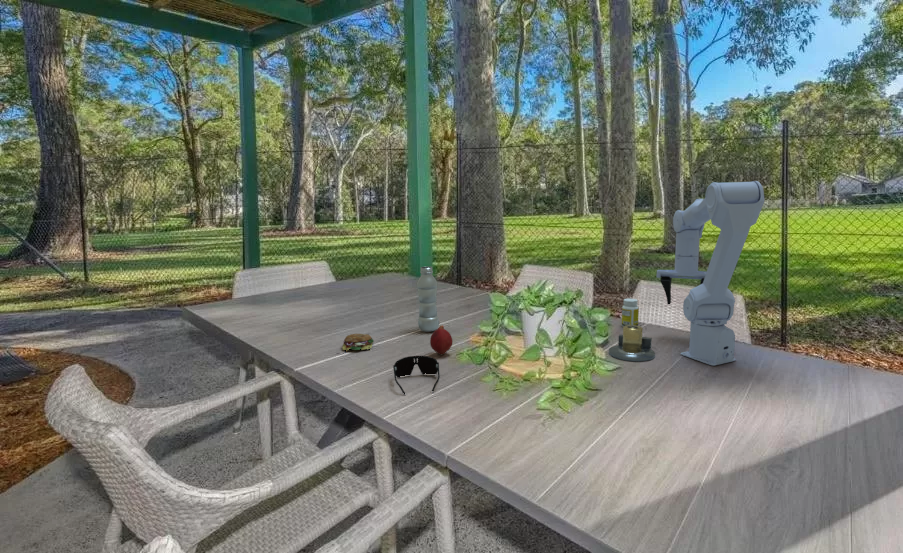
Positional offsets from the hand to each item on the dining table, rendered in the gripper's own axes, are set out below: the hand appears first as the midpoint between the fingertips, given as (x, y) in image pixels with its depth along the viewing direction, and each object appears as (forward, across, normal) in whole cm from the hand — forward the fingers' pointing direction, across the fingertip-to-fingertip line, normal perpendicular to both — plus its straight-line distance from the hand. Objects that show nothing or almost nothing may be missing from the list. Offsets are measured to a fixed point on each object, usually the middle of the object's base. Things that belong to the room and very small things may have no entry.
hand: (684, 304), depth 134 cm
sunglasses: (+10, +50, +58) cm, 77 cm away
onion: (+10, +55, +38) cm, 68 cm away
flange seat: (+10, +11, +18) cm, 23 cm away
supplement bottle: (+10, +15, -8) cm, 20 cm away
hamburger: (+11, +80, +44) cm, 92 cm away
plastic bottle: (+10, +70, +20) cm, 74 cm away
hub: (+9, +11, +18) cm, 22 cm away
